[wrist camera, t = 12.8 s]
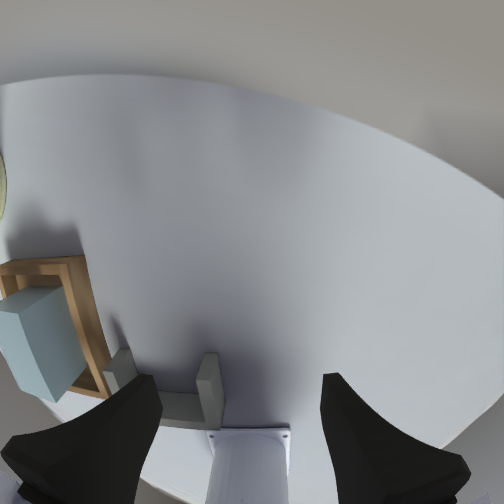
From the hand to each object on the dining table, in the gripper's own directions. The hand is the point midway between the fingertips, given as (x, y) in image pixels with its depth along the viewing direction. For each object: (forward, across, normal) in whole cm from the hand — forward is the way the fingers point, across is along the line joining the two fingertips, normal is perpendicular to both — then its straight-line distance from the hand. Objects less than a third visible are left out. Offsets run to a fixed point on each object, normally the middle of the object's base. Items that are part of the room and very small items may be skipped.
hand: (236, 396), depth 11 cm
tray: (+9, +18, +2) cm, 20 cm away
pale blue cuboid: (+9, +18, +2) cm, 20 cm away
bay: (+9, +7, +7) cm, 14 cm away
